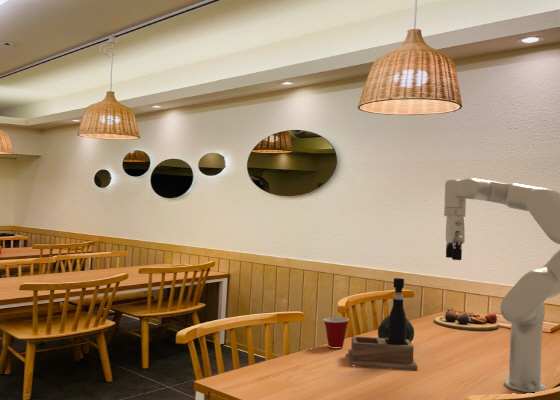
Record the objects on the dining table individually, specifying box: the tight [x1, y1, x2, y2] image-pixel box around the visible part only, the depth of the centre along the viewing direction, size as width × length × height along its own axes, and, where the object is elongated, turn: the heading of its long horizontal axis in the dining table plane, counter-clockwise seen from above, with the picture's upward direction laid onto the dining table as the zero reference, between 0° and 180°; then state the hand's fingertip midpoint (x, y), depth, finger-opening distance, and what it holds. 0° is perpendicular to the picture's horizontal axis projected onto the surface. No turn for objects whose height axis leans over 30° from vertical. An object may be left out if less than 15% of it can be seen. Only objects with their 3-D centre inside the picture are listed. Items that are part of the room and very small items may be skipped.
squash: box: [377, 315, 415, 343], centre depth 226 cm, size 14×15×15 cm
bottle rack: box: [347, 336, 418, 371], centre depth 201 cm, size 18×24×8 cm
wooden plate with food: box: [433, 307, 500, 332], centre depth 277 cm, size 32×32×8 cm
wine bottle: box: [388, 277, 407, 345], centre depth 201 cm, size 6×6×30 cm
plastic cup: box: [322, 317, 350, 348], centre depth 219 cm, size 11×11×12 cm
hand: (453, 258), depth 197 cm, fingers open, 9 cm apart
